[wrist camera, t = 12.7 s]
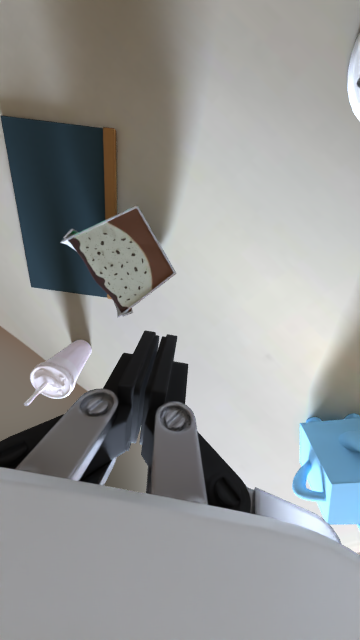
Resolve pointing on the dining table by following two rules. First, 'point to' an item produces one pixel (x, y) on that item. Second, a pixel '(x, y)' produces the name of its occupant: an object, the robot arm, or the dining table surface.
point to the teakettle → (331, 467)
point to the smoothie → (60, 371)
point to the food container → (123, 257)
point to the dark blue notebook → (60, 195)
